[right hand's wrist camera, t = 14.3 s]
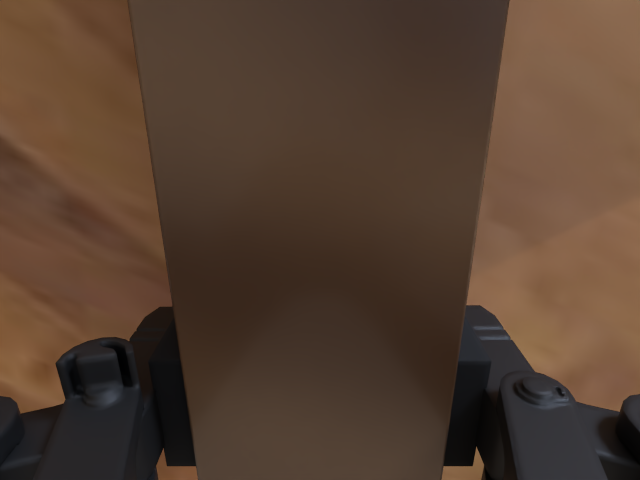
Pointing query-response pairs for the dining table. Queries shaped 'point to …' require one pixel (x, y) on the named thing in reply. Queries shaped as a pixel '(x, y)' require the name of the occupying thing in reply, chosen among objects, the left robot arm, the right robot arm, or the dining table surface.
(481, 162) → the bar
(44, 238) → the dining table surface
